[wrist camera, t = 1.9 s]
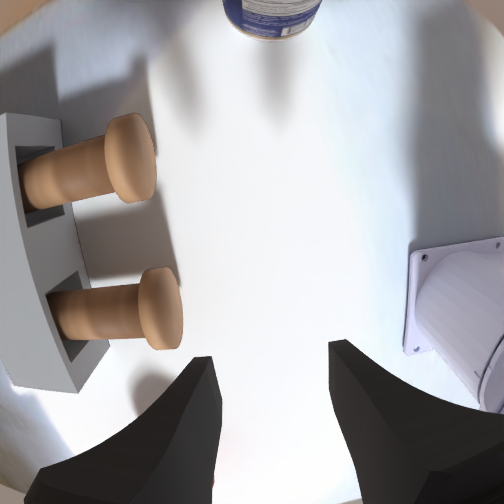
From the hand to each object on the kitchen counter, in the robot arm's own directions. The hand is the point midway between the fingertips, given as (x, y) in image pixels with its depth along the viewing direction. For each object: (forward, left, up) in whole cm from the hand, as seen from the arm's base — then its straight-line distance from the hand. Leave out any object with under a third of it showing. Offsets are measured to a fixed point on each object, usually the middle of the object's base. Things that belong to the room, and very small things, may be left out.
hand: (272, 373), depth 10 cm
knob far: (+9, 0, -9) cm, 12 cm away
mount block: (+14, -4, -9) cm, 18 cm away
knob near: (+9, -8, -9) cm, 15 cm away
